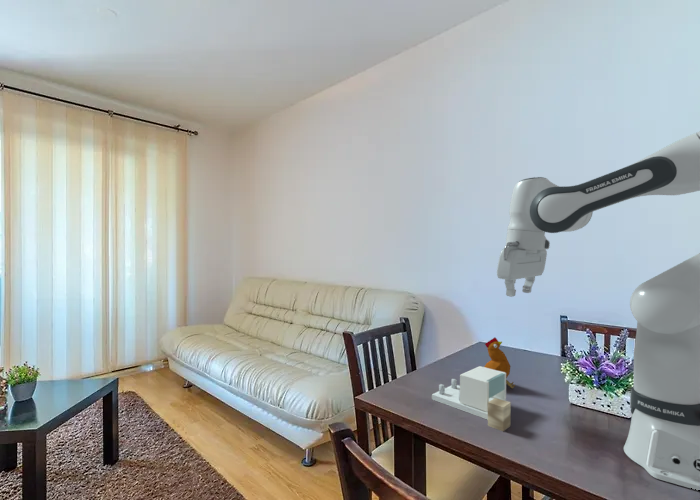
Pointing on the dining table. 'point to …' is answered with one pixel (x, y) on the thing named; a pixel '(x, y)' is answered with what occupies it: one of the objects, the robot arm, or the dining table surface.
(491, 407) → the block
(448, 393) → the white peg base plate
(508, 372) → the toy
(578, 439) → the dining table surface
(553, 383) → the dining table surface
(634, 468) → the dining table surface
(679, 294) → the robot arm
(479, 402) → the cover
